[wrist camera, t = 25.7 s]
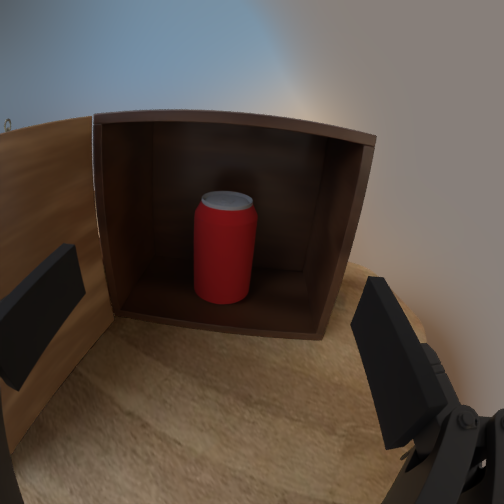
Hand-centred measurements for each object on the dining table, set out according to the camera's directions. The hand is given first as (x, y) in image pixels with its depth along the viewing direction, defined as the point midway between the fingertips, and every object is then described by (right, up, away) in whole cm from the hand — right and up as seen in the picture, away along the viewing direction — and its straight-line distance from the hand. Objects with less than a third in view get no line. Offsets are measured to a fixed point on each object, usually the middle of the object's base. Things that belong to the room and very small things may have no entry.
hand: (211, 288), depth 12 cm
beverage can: (-2, -4, +23) cm, 24 cm away
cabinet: (-2, -4, +24) cm, 25 cm away
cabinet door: (-19, -11, +7) cm, 23 cm away
